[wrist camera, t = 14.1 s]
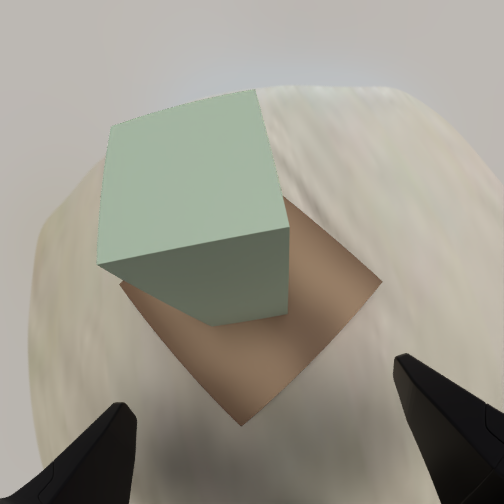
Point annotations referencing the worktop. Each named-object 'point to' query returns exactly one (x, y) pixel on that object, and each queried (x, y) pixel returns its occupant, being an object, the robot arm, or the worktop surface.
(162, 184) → the sage block
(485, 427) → the robot arm
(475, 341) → the worktop surface
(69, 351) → the worktop surface
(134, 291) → the walnut base
